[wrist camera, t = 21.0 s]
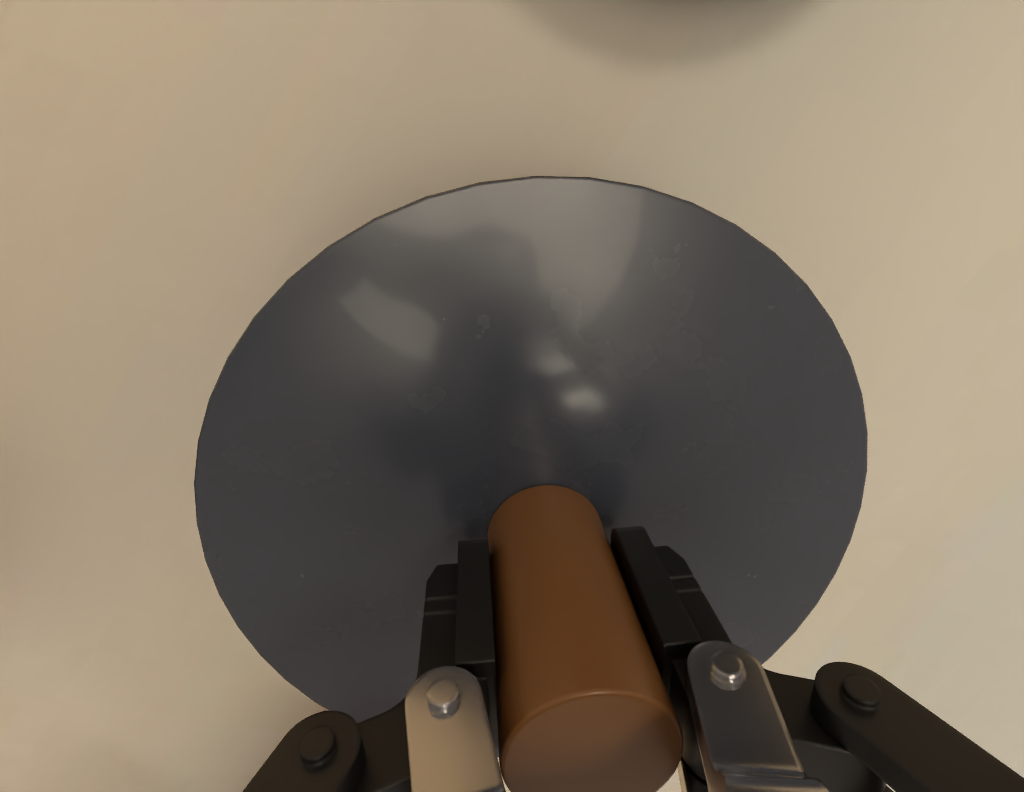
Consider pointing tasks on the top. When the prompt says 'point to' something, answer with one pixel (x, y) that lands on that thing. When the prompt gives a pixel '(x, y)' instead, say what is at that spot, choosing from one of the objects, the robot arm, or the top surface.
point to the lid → (530, 456)
